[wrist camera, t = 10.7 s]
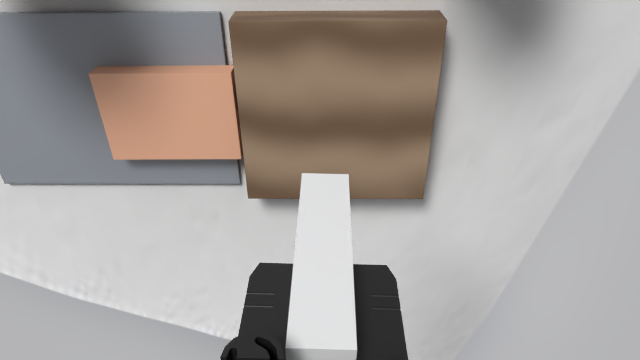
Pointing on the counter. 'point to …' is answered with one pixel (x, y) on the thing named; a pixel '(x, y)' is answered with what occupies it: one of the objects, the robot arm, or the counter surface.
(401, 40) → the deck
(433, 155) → the counter surface
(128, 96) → the card
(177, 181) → the mat
